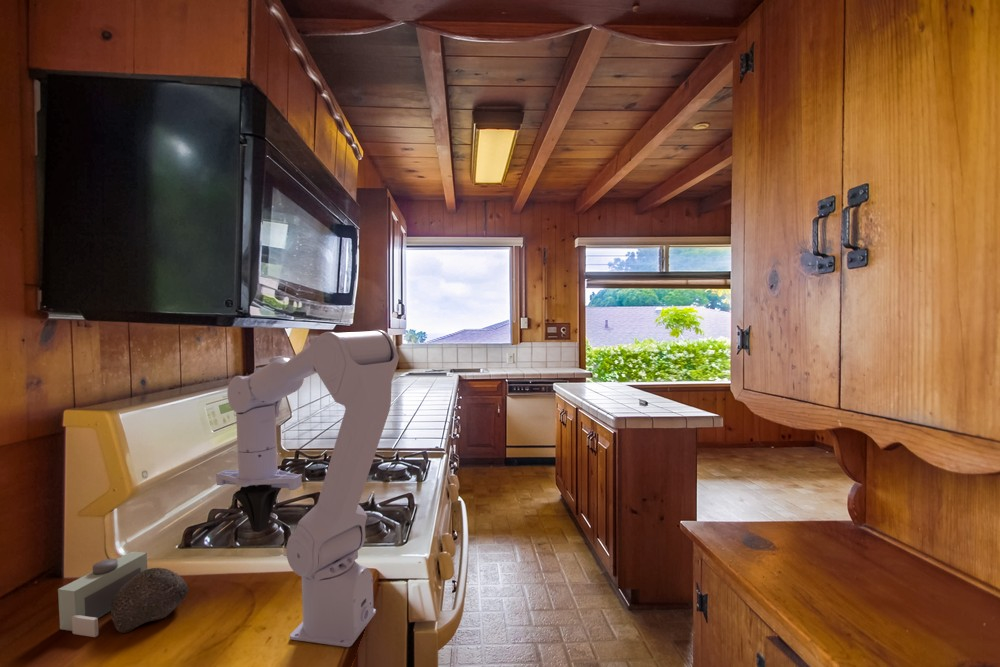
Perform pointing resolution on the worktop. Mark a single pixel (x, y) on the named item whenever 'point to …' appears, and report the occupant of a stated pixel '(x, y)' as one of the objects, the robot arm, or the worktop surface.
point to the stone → (147, 598)
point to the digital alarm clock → (96, 592)
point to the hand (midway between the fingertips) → (260, 529)
